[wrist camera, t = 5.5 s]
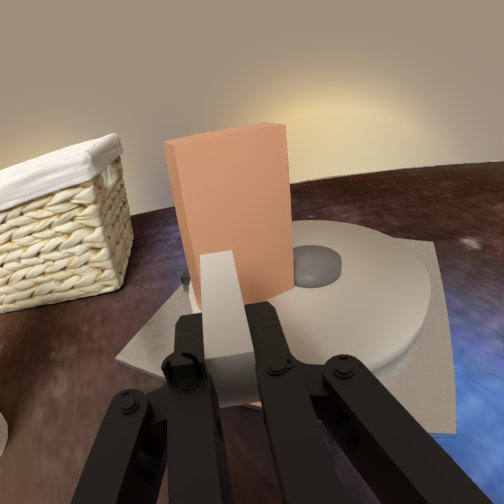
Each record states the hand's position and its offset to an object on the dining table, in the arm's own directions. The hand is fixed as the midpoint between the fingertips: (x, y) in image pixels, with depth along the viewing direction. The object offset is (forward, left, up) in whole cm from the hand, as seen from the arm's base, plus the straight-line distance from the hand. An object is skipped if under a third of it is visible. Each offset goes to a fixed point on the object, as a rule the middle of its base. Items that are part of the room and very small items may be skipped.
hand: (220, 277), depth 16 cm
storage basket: (+29, -6, -9) cm, 31 cm away
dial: (-2, -11, -9) cm, 14 cm away
